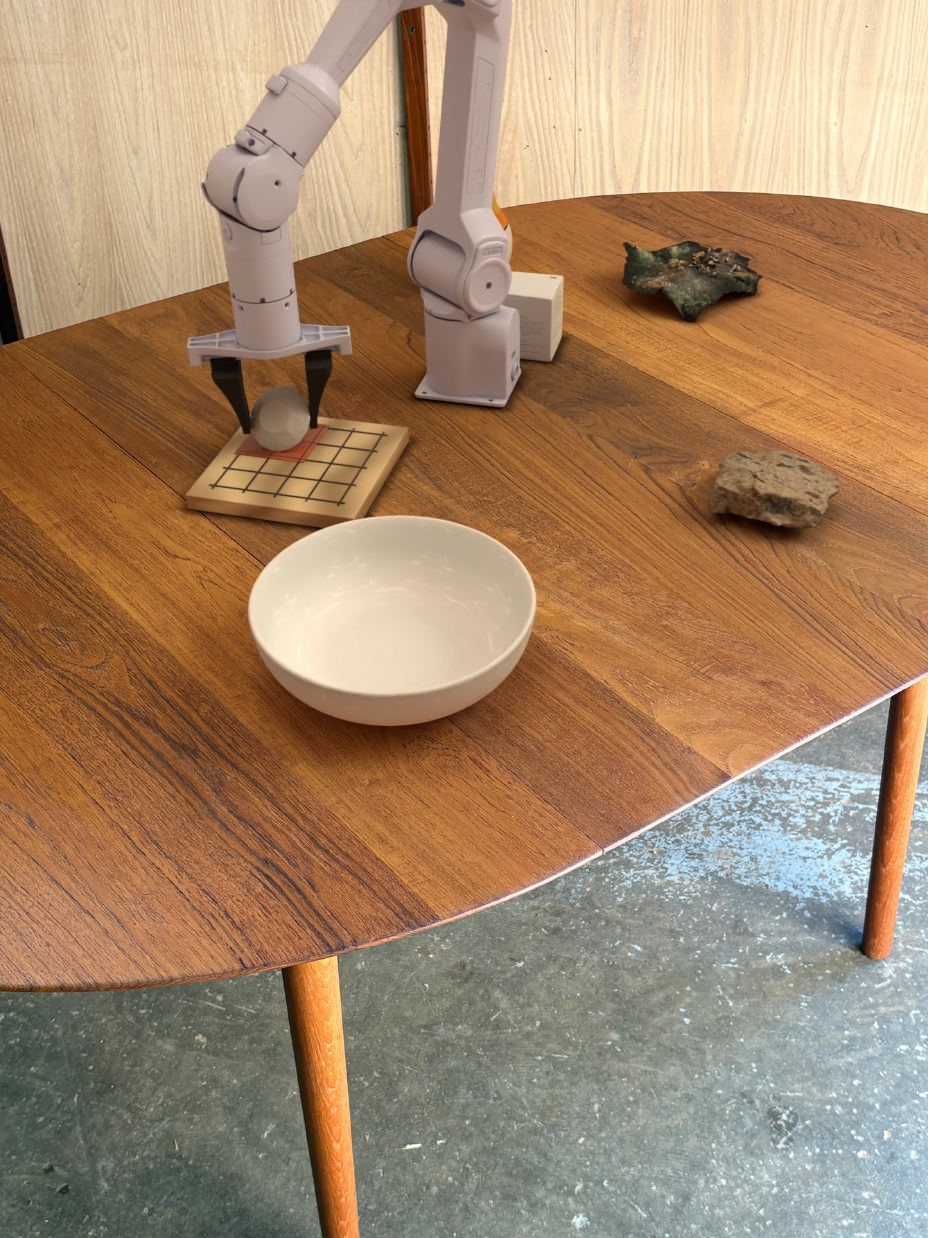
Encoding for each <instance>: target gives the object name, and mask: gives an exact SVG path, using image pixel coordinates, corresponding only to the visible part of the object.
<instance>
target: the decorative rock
mask: <svg viewBox="0 0 928 1238" xmlns="http://www.w3.org/2000/svg"><path fill="white" fill-rule="evenodd" d="M622 246H623V248H624V251H625V252H626V254H627V256H625V261H626V262H625V263H624V264H623V265H624V266H623V267H624V269H623V277H622V280H621V281H622V285H623V286H625V287H626V288H627V289H628V290H630V291H637V292H639V293H640V294H645V293H646V294H649V295H658V294H660V293H661V294H662V293H663V294H664V295H665V300H666V299H667V300H670V301H671V302H672V303H673V304H674V306H675V308H676V309H677V311H678V312H679V314H680V316H681V318H682V320H684V321H685V320H687V321H692V322H697V321H698V317H700V316H701V315H702V313H703V311H704V309H706V307H707V306H708V305H710V304H712V305H715V304H716V303H718V301H719V300H720V298H721V297H723V296H724V295H725V294H729V293H732V292H734V293H741V292H747V293H748V294H749V293H750V295H751V296H755V295H756V294H757V292H758V283H759V282H760V280H762V279H763V277H764V276H763V275H761V274H759V273H758V272H756V271H755V270H753V269H751V268H750V267H748V266H749V265H750V263H749V262H750V261H751V258H749V257H746V256H743V255H740V254H739V252H737V251H733V250H724V249H723V248H722V247H717V248H715V249H714V248H713V247H711V248H709V247H707V246H702V245H701V244H700V243H699V242H696V241H694V240H686V241H683V242H680V243H675V244H672V245H670V246H665V247H662V248H659V249H656V250H646V249H644V248H641V247H638V246H637V245H636V244H633V243H630V242H629V241H625V242H623V243H622Z"/></svg>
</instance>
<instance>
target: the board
mask: <svg viewBox="0 0 928 1238" xmlns="http://www.w3.org/2000/svg"><path fill="white" fill-rule="evenodd" d="M250 419H251V413H250ZM409 431H410V429H409V427H407V426H399V425H391V424H390V425H389V424H382V423H373V422H367V421H366V422H365V421H357V420H351V419H350V420H348V419H341V418H334V417H333V418H332V417H325V416H324V417H323V416H318V428H317V429H310V422H309V425H308V431H307V432H306V434H305V435H304V437H303V439H302V440H301V442H300V443H298V444H297V445H295V446H294V447H293V448H291V449H289V450H285V451H280V452H277V451H271V450H268V449H266V448H264V447H263V446H261V445H260V444H259V443H258V441H257V440H256V439H255V438H254V435H253V432H252V429H251V434H243V430H242V427H241V426H240V427H239V428H238V429H237V430H236V431H235V433H234V434H233V435H232V436H231V438H230V439H229V440H228V441H227V443H226V444H225V445H224V446H223V448H222V449H221V450H220V451H219V452H218V453H217V455H216V456H215V457H214V459H213V460H212V461H211V462H210V464H209V465H208V466H207V467H206V468H205V470H204V471H203V472H202V474H201V475H200V476H199V477H198V478H197V479H196V480H195V482H194V483H193V484H192V486H191V487H190V488H189V489H188V491H187V492H186V493H185V495H184V496H185V502H186V507H187V509H188V510H194V511H202V512H207V513H215V514H223V515H229V516H237V517H243V518H250V519H257V520H265V521H272V522H280V523H287V524H292V525H299V526H307V527H314V528H320V529H324V528H327V527H330V526H333V525H336V524H340V523H343V522H348V521H352V520H357V519H363V518H365V516H366V514H367V513H368V511H369V509H370V508H371V506H372V504H373V503H374V501H375V499H376V498H377V497H378V494H379V492H380V491H381V489H382V487H383V486H384V484H385V483H386V481H387V479H388V477H389V475H390V474H391V472H392V470H393V468H394V467H395V465H396V464H397V462H398V460H399V458H400V457H401V455H402V454H403V452H404V450H405V448H406V447H407V445H408V443H409V442H410V434H409V433H410V432H409Z"/></svg>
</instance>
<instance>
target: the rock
mask: <svg viewBox="0 0 928 1238" xmlns="http://www.w3.org/2000/svg"><path fill="white" fill-rule="evenodd" d="M718 468H719V470H718V474H717V477H716V478H715V481H714V483H713V487H712V492H711V494H710V496H709V498H708V500H707V507H708V510H709V512H712V513H714V514H726V513H731V514H734V515H737V516H739V515H740V516H742V517H744V518H747V519H752V520H759V521H762V522H767V523H769V524H771V525H774V526H776V527H780V526H781V525H782V527H784V528H796V529H805V530H806V529H807V530H809V529H816V528H818V527H819V526H820V525H822V522H823V518H824V516H825V512H827V509H828V508H829V500H830V499H832V498H833V497H835V496H836V495H838V494H839V493H840V492H841V490H842V487H843V484H842V483H841V482H840V480H839V478H838V477H837V476H834V475H831V474H830V472H829V471H827V470H826V469H825V467H823V466H822V465H821V464H820V463H818V462H812V461H811V460H810V459H808V458H806V457H800V456H798V455H797V454H796V453H790V452H789V451H786V450H771V451H766V452H765V451H759V452H756V453H755V452H754V453H753V452H750V451H746V450H742V451H741V450H740V451H738V452H730V453H727V454H726V455H725V456H723V458H722V461H720V463H719V466H718Z"/></svg>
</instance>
